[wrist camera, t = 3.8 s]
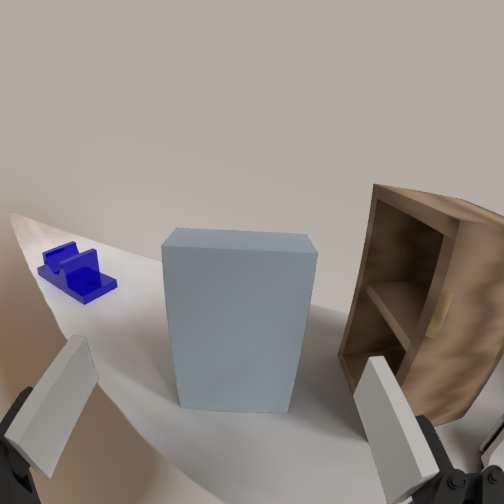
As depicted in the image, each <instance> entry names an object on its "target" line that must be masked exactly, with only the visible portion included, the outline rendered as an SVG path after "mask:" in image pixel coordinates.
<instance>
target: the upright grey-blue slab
mask: <svg viewBox="0 0 504 504" xmlns="http://www.w3.org/2000/svg"><path fill="white" fill-rule="evenodd" d="M161 248H162V264H163V278H164V290H165V300H166V310H167V319H168V328H169V336H170V344H171V351H172V358H173V365H174V372H175V378H176V384H177V390H178V396H179V401H180V407H182V408H191V409H200V410H212V411H226V412H248V413H288V409H289V404H290V400H291V396H292V392H293V387H294V383H295V378H296V374H297V369H298V364H299V360H300V355H301V350H302V345H303V340H304V334H305V329H306V324H307V318H308V313H309V307H310V301H311V295H312V289H313V283H314V277H315V270H316V263H317V256H318V253H317V251H316V249H315V247H314V246H313V244H312V242H311V241H310V239H309V237H308V236H307V234H292V233H291V234H290V233H273V232H255V231H235V230H213V229H189V228H176V229H175V230H174V231H173V232H172V233H171V235H170V236H169V237H168V238H167V239H166V241H165V242H164V243H163V244H162V246H161Z"/></svg>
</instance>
